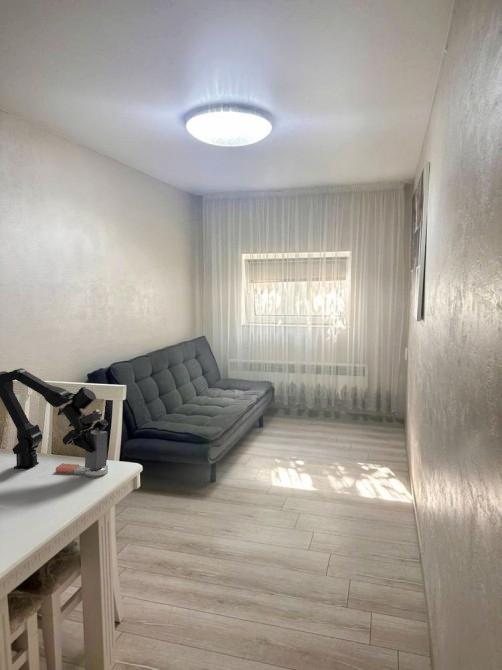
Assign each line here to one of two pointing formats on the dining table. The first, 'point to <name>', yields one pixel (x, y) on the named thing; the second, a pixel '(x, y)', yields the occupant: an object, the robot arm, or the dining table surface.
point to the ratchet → (81, 470)
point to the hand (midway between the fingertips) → (98, 449)
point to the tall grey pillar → (96, 449)
